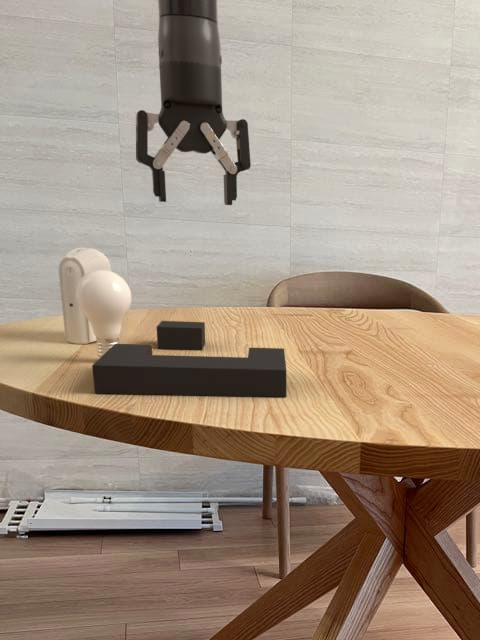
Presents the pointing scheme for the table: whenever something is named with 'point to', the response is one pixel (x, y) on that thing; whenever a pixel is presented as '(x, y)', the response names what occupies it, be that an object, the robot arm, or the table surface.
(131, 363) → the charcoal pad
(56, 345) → the table surface
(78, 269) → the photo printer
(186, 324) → the black block
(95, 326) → the lightbulb
